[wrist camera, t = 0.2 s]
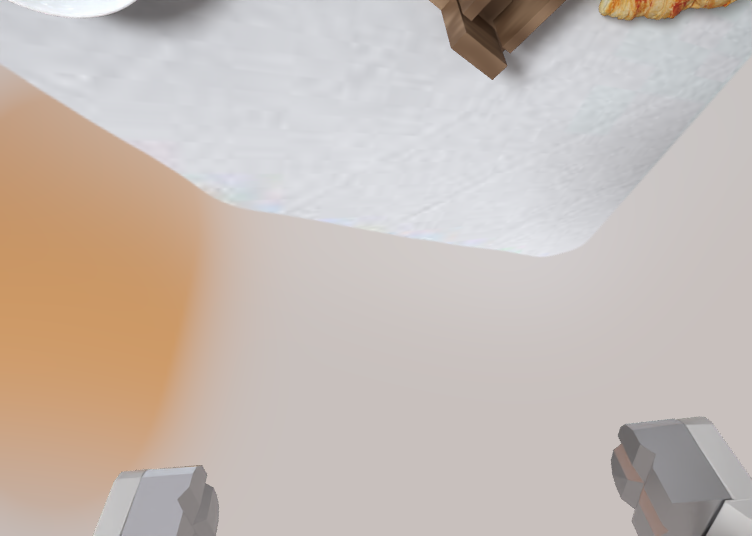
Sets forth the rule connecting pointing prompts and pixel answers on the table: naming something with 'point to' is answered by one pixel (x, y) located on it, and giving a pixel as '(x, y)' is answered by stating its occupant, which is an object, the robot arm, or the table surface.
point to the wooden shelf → (491, 28)
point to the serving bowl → (75, 7)
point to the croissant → (654, 7)
